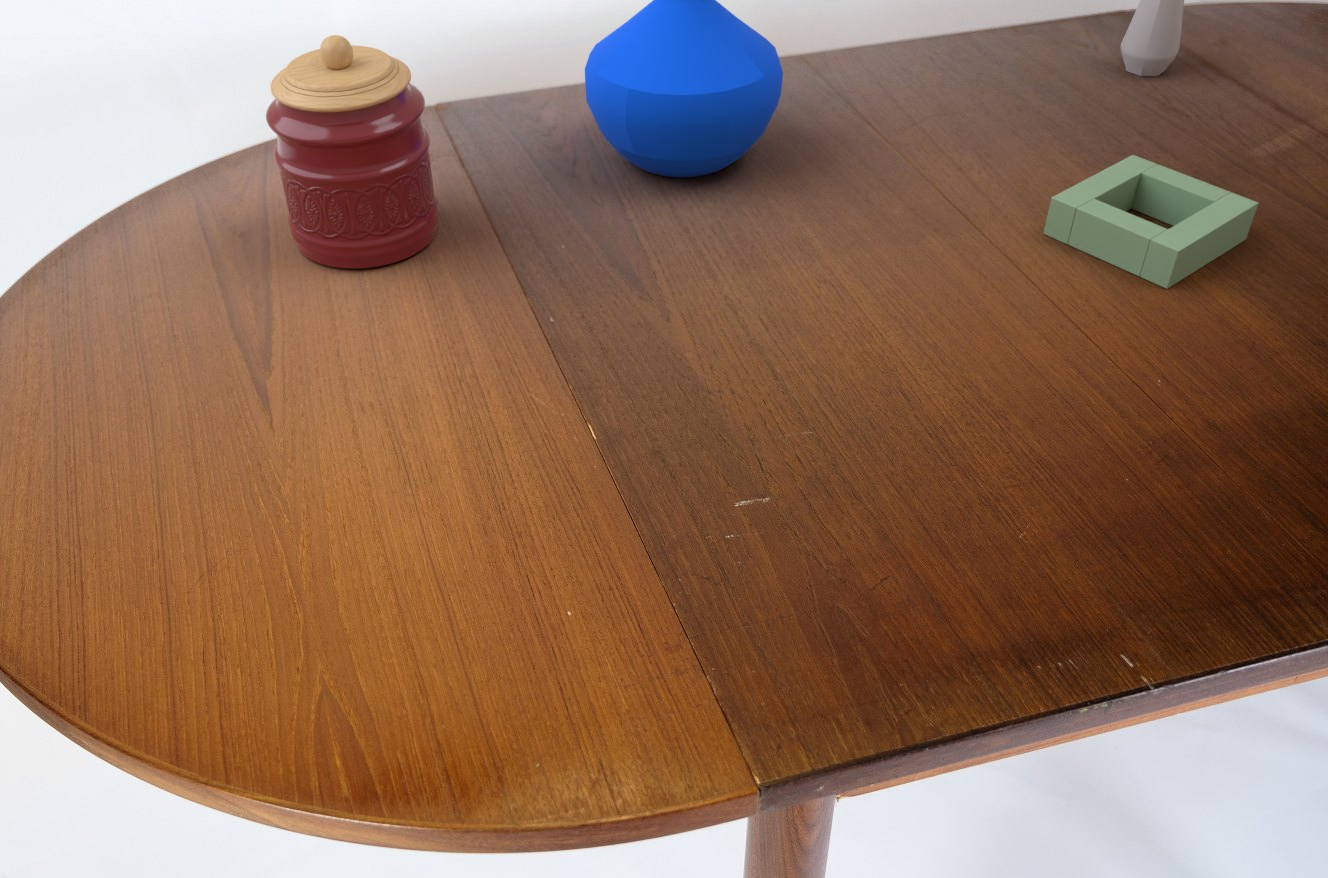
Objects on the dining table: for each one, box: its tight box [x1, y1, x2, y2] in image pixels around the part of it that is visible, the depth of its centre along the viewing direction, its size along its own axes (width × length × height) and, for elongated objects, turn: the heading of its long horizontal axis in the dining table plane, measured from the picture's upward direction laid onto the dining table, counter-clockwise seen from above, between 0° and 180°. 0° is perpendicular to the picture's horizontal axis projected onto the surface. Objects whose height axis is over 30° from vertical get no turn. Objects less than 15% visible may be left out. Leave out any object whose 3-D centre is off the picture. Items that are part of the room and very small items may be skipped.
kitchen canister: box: [265, 34, 440, 270], centre depth 104 cm, size 13×13×18 cm
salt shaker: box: [1119, 0, 1185, 77], centre depth 128 cm, size 6×6×13 cm
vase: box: [584, 0, 784, 178], centre depth 114 cm, size 18×18×19 cm
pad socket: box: [1042, 154, 1259, 290], centre depth 105 cm, size 12×12×4 cm
